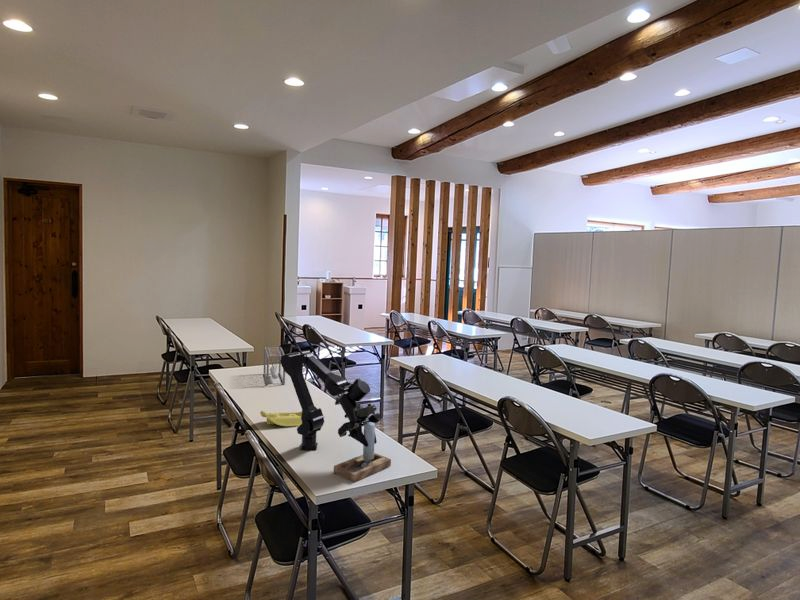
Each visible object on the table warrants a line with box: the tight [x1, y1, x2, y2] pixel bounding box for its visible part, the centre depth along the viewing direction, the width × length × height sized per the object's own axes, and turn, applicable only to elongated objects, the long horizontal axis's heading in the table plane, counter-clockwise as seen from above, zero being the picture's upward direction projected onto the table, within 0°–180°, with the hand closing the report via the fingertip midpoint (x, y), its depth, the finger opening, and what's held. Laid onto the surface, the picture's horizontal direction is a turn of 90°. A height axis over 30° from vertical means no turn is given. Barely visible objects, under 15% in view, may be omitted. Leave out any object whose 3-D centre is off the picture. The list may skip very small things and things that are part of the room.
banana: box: [259, 410, 302, 427], centre depth 230 cm, size 20×7×10 cm
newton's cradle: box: [263, 346, 286, 386], centre depth 309 cm, size 30×10×18 cm, turn 18°
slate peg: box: [360, 422, 376, 469], centre depth 186 cm, size 5×5×16 cm
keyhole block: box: [333, 452, 392, 483], centre depth 185 cm, size 19×10×3 cm, turn 140°
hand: (371, 444), depth 185 cm, fingers closed on slate peg, 4 cm apart
